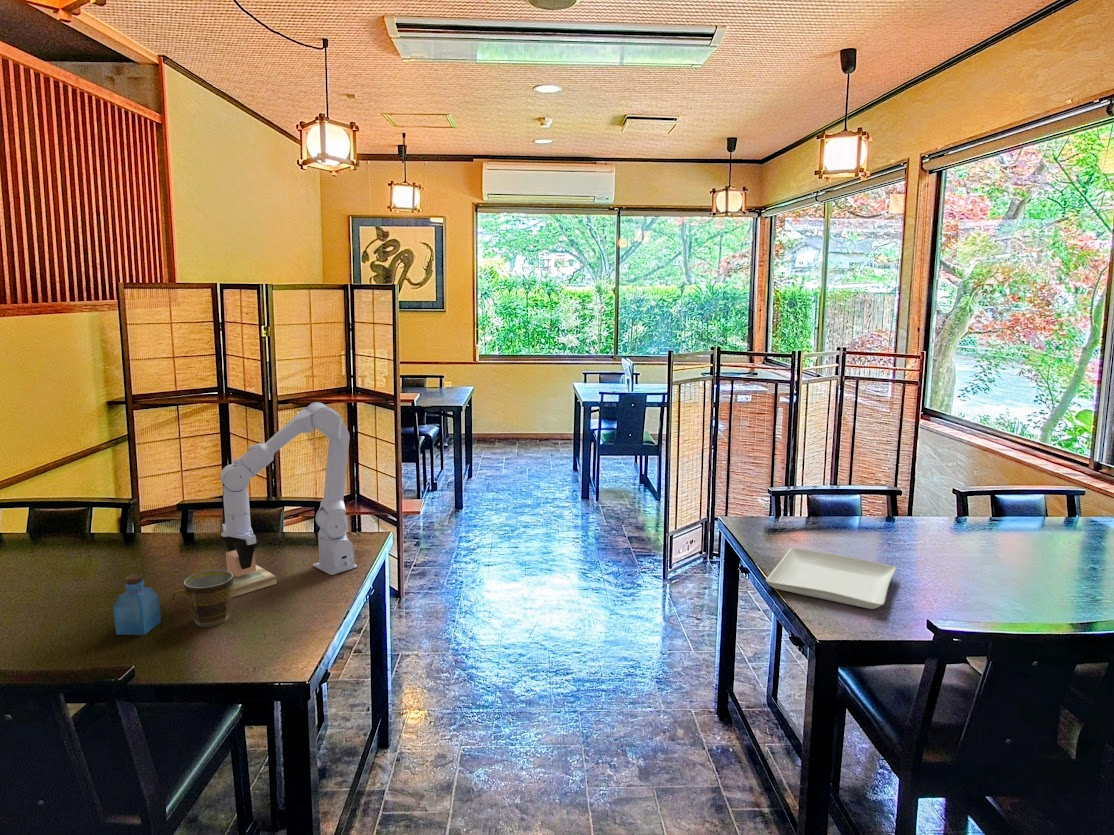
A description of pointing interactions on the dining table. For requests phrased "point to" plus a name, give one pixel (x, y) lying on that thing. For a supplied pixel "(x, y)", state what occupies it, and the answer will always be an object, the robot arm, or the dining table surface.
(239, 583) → the display base
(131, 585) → the perfume bottle
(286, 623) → the dining table surface
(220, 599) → the ceramic cup
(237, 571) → the terracotta block
